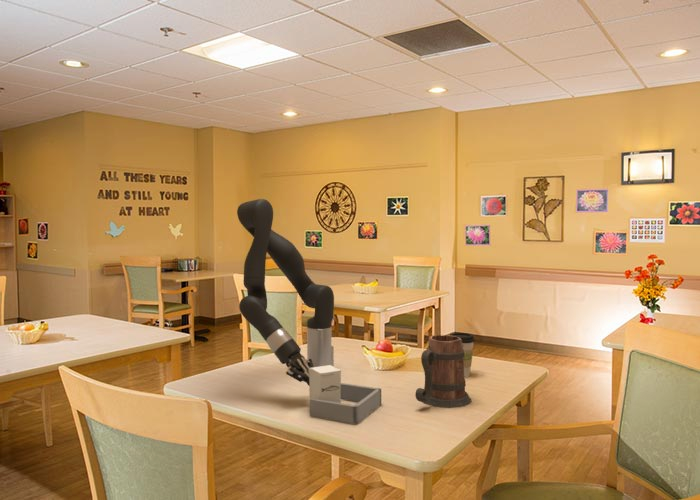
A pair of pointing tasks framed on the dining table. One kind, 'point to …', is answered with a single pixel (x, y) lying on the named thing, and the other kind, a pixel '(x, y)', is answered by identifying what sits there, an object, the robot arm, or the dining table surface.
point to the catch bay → (346, 412)
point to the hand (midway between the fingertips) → (316, 388)
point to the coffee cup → (466, 350)
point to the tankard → (444, 373)
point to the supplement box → (325, 383)
